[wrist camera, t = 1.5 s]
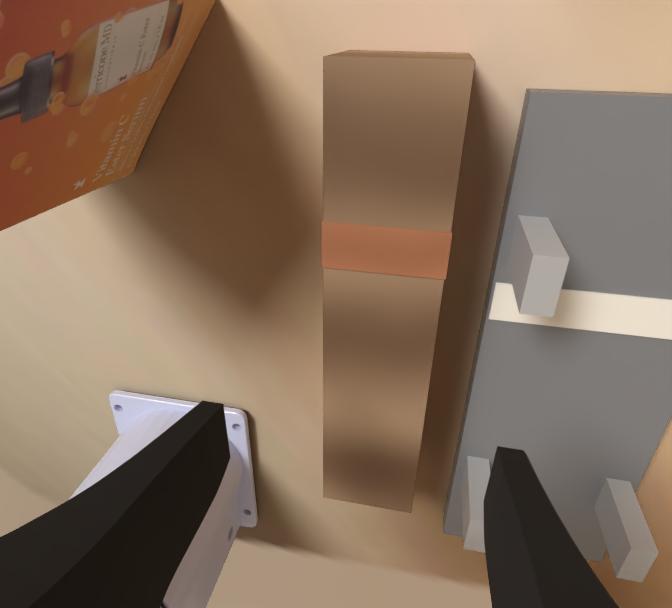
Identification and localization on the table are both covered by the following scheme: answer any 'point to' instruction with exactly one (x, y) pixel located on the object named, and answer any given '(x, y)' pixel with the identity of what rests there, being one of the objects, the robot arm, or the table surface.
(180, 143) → the table surface
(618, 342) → the base plate
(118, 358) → the table surface
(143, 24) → the small box
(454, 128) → the banded tan post
